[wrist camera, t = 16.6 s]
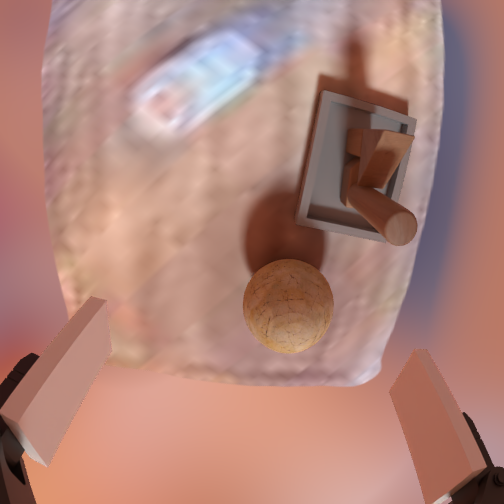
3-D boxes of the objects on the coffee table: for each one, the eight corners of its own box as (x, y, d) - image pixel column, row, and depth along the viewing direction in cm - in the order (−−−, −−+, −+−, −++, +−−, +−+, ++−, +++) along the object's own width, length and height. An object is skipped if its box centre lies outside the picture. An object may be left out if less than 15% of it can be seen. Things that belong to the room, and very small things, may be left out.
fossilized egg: (318, 316, 52) (332, 377, 38) (244, 312, 52) (237, 374, 38) (330, 247, 47) (354, 296, 33) (247, 242, 47) (240, 291, 33)
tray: (320, 92, 38) (323, 90, 35) (408, 119, 38) (416, 119, 36) (294, 218, 45) (296, 224, 43) (379, 236, 46) (385, 243, 43)
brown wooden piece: (371, 132, 39) (434, 137, 22) (362, 204, 43) (414, 250, 26) (346, 127, 39) (399, 129, 22) (338, 201, 43) (381, 247, 26)
